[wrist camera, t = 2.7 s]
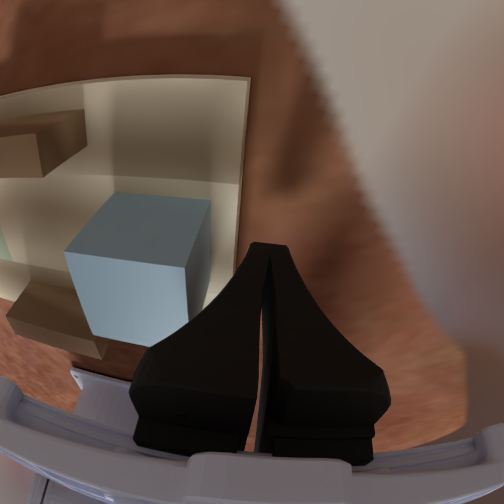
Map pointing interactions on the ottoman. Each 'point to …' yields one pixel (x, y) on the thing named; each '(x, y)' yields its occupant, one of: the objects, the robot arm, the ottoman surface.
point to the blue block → (142, 266)
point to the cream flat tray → (109, 180)
